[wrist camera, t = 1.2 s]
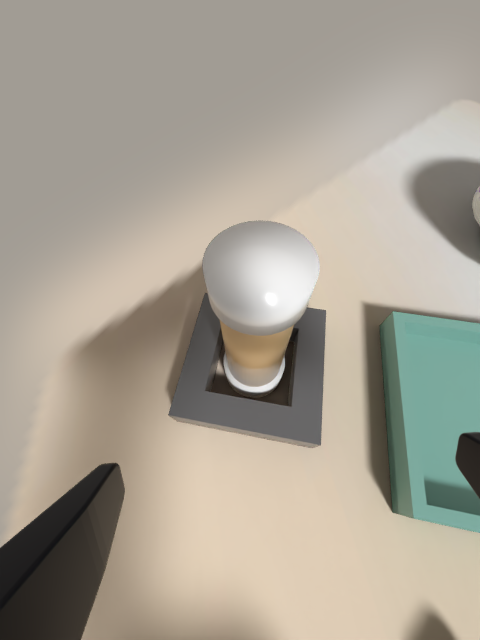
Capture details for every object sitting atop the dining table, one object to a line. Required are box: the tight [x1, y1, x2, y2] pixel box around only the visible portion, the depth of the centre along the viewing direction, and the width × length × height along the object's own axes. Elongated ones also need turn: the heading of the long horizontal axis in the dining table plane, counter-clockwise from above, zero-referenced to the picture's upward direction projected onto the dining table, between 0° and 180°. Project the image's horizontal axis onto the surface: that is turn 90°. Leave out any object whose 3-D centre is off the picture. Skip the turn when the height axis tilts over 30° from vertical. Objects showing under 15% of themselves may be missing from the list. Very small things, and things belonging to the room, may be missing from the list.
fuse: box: [202, 221, 320, 398], centre depth 16 cm, size 5×5×13 cm
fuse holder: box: [168, 293, 326, 448], centre depth 21 cm, size 10×10×2 cm
